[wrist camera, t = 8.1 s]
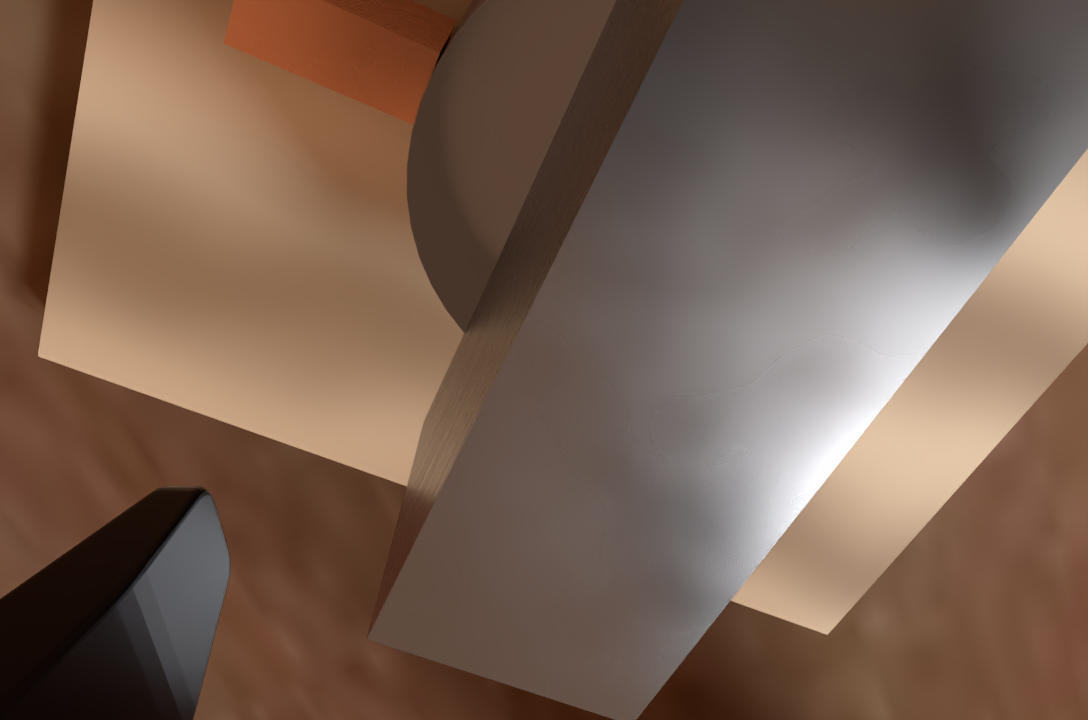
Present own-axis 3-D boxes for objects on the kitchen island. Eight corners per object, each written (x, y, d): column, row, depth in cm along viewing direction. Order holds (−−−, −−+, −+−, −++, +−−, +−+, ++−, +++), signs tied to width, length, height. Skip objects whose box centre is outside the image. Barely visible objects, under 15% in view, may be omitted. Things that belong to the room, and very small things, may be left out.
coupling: (1040, -65, 15) (1398, 81, 8) (703, 435, 21) (754, 764, 14) (383, -417, 13) (153, -598, 6) (210, 242, 19) (-9, 517, 12)
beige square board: (818, 599, 25) (828, 640, 24) (63, 328, 22) (32, 361, 21) (1502, -200, 15) (1579, -196, 14) (284, -958, 11) (248, -1038, 10)
